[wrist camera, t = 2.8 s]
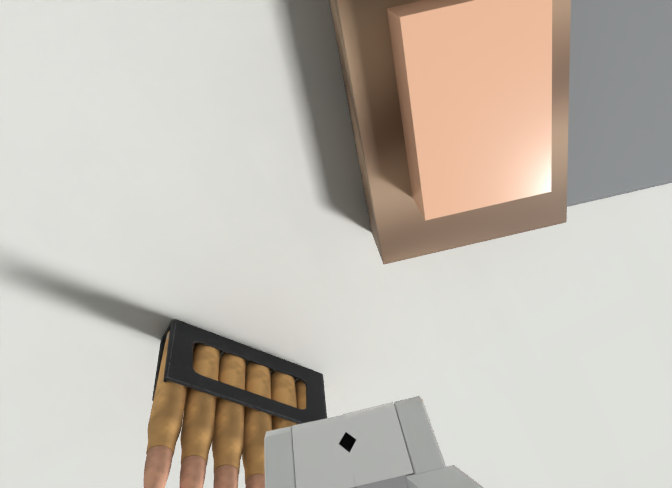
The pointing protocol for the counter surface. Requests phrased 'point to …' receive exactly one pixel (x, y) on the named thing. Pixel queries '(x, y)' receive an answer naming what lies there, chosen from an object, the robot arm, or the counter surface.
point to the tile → (474, 100)
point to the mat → (619, 98)
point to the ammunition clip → (222, 407)
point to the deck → (390, 152)
